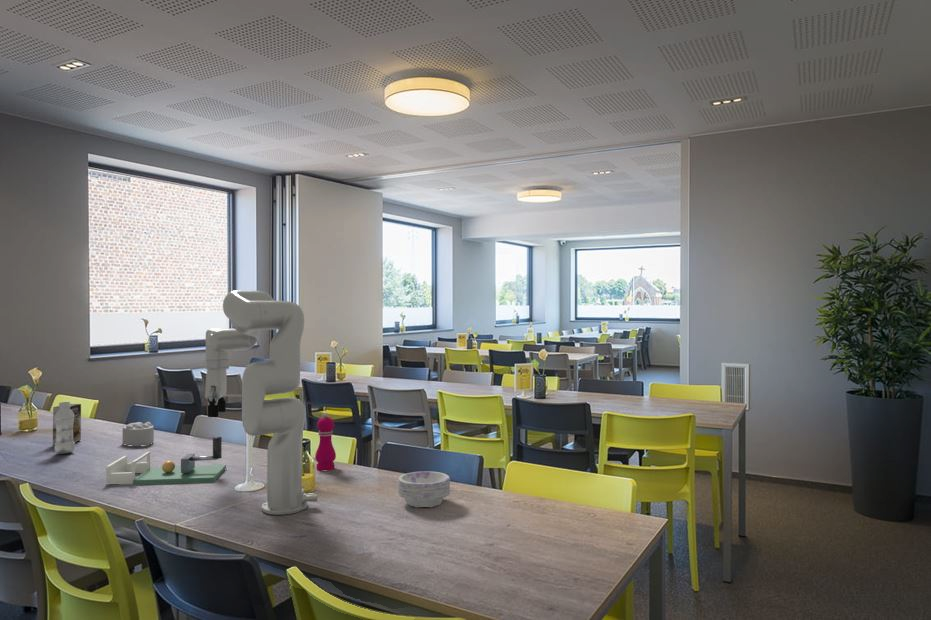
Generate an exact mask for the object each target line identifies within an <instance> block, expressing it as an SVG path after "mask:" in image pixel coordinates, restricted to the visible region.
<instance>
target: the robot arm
mask: <svg viewBox="0 0 931 620" xmlns="http://www.w3.org/2000/svg"><path fill="white" fill-rule="evenodd" d="M222 310H223V313H224V315H225V316H226V318H227V319H229V320H230V322H231V326H232V327H233V328H222V327H221V328H208V329H207V330H206V331H205V360H204V362H205V363H204V364H205V367H204V369H205V370H207V371H206V375H205V377H206V378H205V389H204V390H205V391H204V392H205V393H204V397H205V399H207V417H208V418H218V417H219V413H224V412H226V406H227V405H226V394H227V391H228V390H227V387H228V385H227V383H228V382H227V381H228V380H227V379H228V378H227V370H229V369H230V352H236V351H237V352H239V351H247V350H250V349H252V348H253V347H254V346H255V345H256V344H257V343H258V342H259V341H260V338H261V333H262V332H261V331H273V330H274V331H275V330H276V331H277V332H276V333H275V334H274V336H273V337H272V338H271V340H270V342H269V349H268V350H269V357H268V360H267V361H266V360H265V361H264V360H263V361H262V360H261V361H255V362H251V363H249V364H248V365H247V366H246V367H245V369H244V371H243V373H242V376H241V378H242V379H241V420H242V421H241V422H242V428H243V430H244V432H245V433H246V434H247V435H248V436H252V437H254V436H255V437H256V436H263V435H269V434H270V435H272V434H273V435H272V437H271V438H270V440H269V442H268V446H267V456H266V457H267V464H266V466H267V467H266V469H267V472H266V473H267V474H266V475H267V477H266V478H267V479H266V483H267V484H266V485H267V487H266V490H267V491H266V495H267V497H266V498H267V499H266V502H263V504H261V511H262V512H263V513H264V514H267V515H276V516H277V515H278V516H280V515H281V516H282V515H291V514H295V513H299V512H301V511H304V510H305V509H307V507H308V502H310V503H311V502H313V503H314V502H316V503H317V502H318V497H319V496H318V494H315V493H314V492H312V493H311V492H310V493H307V492H305V489H304V488H303V485H302V484H303V481H302V480H303V474H302V473H303V435H304V434H303V433H304V427H305V422H306V418H307V417H306V416H307V412H306V411H307V409H306V407H305V404H304V402H303V401H302V400H300V399H299V398H297V397H289V396H288V397H278V398H271V399H265V397H266V396H271V395H282V394H289V393H292V392H295V391H297V390H298V388H299V386H300V383H301V343H302V338H303V332H304V328H305V315H304V311H303V310H302V307H301V306H300V305H298V304H297V303H295V302H293V301H287V300H274V299H273V297H272V295H271V294H269V293H268V292H266V291H263V290H262V291H261V290H246V289H245V290H243V289H242V290H240V289H237V290H232V291H229V292H228V293H227V294H226V295H225V296H224V299H223V301H222Z"/></svg>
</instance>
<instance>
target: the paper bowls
mask: <svg viewBox="0 0 931 620" xmlns="http://www.w3.org/2000/svg"><path fill="white" fill-rule="evenodd" d="M397 483H398V485H397V486H398V487H397V488H398V491H397V492H398V496H399V497H401V498H403V499H404V500H405V502H406V504H407V505H408V506H410V505H411V506H410V507H412V506H414V507H413V508H417V507H430V508H432V507H431V506H435V507H437V506H436V505H438V506H439V505H440V503H441V504H442V502H443V500H444V498H446V497H448V496H450V492H451V478H450V475H448V474H446V473H444V472H438V471H430V470H429V471H427V470H425V471H423V470H422V471H413V472H407V473H404V474H402V475H400V476H399V477H398V482H397Z"/></svg>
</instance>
